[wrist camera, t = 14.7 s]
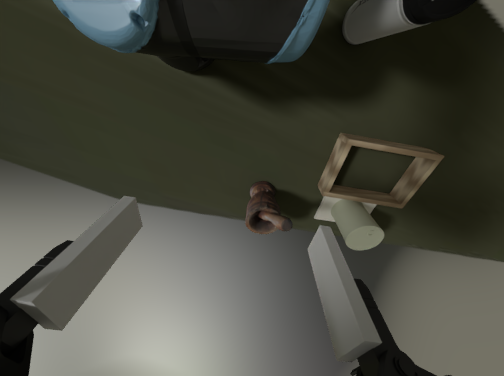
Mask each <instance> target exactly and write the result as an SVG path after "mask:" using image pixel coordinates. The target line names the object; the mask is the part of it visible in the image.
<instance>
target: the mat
mask: <svg viewBox="0 0 504 376" xmlns="http://www.w3.org/2000/svg"><path fill="white" fill-rule="evenodd" d="M339 200H342V199H339V198H333V197H327V196H324V197H323V200H322V202H321V204H320V206H319V208H318V210H317V212H316V214H315V216H314V219H320V220H326V221H333V222H335V220H334V218H333V217H332V215H331V209H332V207H333V205H334V204H335V203H336V202H338V201H339ZM362 204H363V206H364V207H365V209H366V210H367V211H368V213H369V214H370V213H371V212H372V211H373V209H374V208H375V206H376V205H377V204H371V203H365V202H362Z"/></svg>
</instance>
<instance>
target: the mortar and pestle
mask: <svg viewBox="0 0 504 376" xmlns="http://www.w3.org/2000/svg"><path fill="white" fill-rule="evenodd" d="M250 195H251V199H250V201H249V203H248V206H247V213H246V223H245V224H246V226H247V227H248V229H250V230H251V231H252V232H255V233H259V234H269V233H272V232H274V231H276V230H277V229H279V230H282V231H289V230H290V229H291V228H292V221H291V220H290V219H289V218H287V217H285V216H281V212H280V208H279V205H278V203H277V202H276V200H275V198H274V195H275V189H274V187H273V186H272V185H271V184H270V183H268V182H266V181H261V182H257V183H255V184H253V185H252V187H251V189H250Z"/></svg>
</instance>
